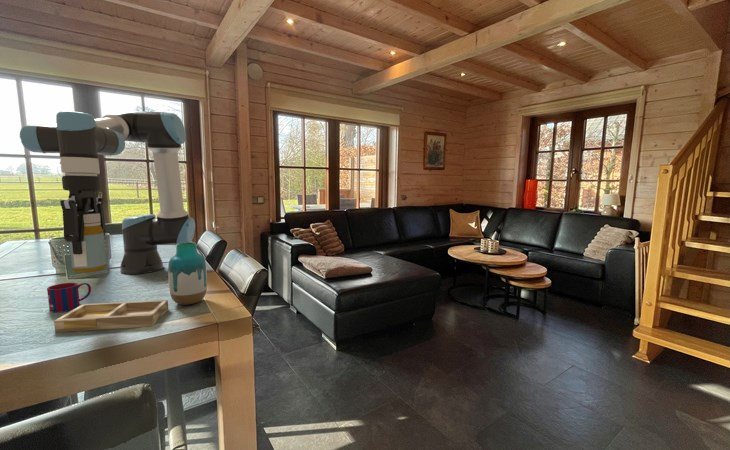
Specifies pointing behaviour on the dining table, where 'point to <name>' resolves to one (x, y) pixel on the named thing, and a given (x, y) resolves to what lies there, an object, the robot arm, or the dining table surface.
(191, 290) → the vase
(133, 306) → the caddy
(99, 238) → the bottle
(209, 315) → the dining table surface
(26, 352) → the dining table surface
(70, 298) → the mug
